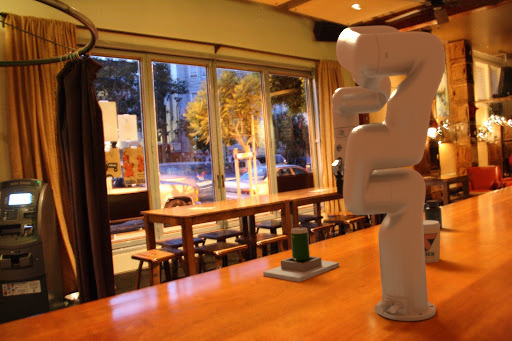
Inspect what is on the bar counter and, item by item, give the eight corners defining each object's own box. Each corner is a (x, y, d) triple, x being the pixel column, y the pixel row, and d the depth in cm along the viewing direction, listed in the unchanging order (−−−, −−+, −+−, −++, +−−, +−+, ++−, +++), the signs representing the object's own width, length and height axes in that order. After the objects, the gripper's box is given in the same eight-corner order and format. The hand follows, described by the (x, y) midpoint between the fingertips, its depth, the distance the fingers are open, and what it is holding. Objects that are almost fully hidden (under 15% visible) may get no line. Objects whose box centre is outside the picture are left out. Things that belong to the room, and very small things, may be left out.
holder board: (299, 282, 129) (298, 269, 129) (263, 275, 139) (262, 263, 138) (338, 266, 143) (337, 254, 143) (303, 261, 153) (303, 250, 153)
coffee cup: (408, 262, 141) (406, 224, 141) (413, 256, 150) (411, 219, 149) (440, 264, 137) (438, 224, 137) (443, 257, 145) (441, 219, 145)
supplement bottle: (422, 228, 198) (420, 201, 197) (433, 226, 200) (431, 199, 200) (434, 230, 191) (432, 202, 191) (446, 228, 194) (444, 200, 194)
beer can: (300, 270, 137) (297, 230, 137) (289, 267, 141) (286, 229, 141) (314, 266, 140) (311, 228, 140) (302, 264, 144) (300, 226, 144)
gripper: (342, 132, 124) (347, 194, 124) (372, 133, 137) (376, 189, 137) (319, 135, 129) (324, 195, 129) (350, 136, 142) (354, 190, 142)
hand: (351, 192), depth 133 cm, fingers open, 9 cm apart
